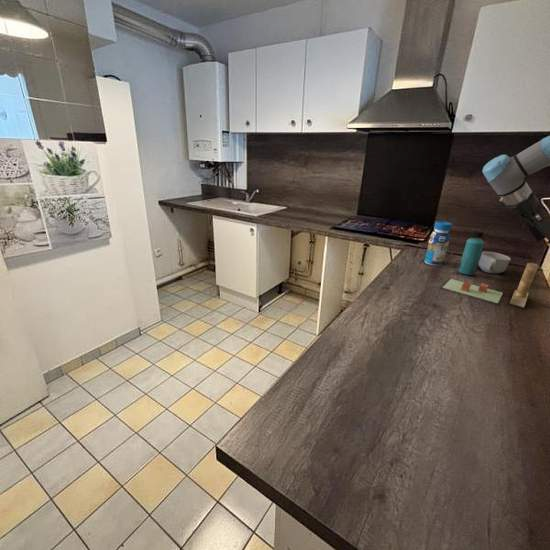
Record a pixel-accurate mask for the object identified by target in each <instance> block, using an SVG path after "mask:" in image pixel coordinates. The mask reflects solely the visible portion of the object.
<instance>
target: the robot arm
mask: <svg viewBox="0 0 550 550" xmlns="http://www.w3.org/2000/svg"><path fill="white" fill-rule="evenodd" d="M546 167H550V135H548V136H546V137H543V138H541V139H540V140H539V141H537V142H536V143H534V144H532V145H530V146H529V147H527V148H525V149H523V150H522V151H521V152H518V153H517V154H514V155H513V156H511V157H510V156H508V155H507V154H500V155H498V156H496V157H494V158H492V159H491V160H489V161H488V162H487V163H486V164H485V165H484V166H483V167H482V174H483V176H484V177H485V178H486V181H487V182H488V184H489V185H490V186H491V187H492V189H493V191H494V192H495V193H496V194H497V196H498V197H499V198H500V199H499V200H498V201H499V202H501V203H503V204H504V205H505V207H506V208H507V210H508V211H509V213H510V214H511V215H513V216H518V218H519V220H520V222H521V224H522V225H524V226H525V228H527V230H528V231H529V233H530V234H531V235H532V237H533V239H534V240H535V241H536V242H537V243H539V242H541V241H543V240H544V239H547V240H548V241H546V244H547V245H550V221H548V220H547V218H546V217H545V216H544V214H543V213H542V212H540V211H539V209H538V208H537V209H535V207H537V206H538V204H539V199H538V197H537V196H536V195H535V193H534V192H533V190H532V188H531V187H530V185H529V184H528V182H527V181H526V179H525V178H527V177H529V176H530V175H532V174H535V173H536V172H538V171H540V170H542V169H545V168H546Z"/></svg>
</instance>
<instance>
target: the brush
mask: <svg viewBox="0 0 550 550" xmlns="http://www.w3.org/2000/svg"><path fill="white" fill-rule="evenodd" d="M539 266H540V265H539V264H537V263H533V262H527V263H526V265H525V268H524V271H523V272H522V276H521V278H520V281H519V283H518V286H517V289H514V292H513V294H512V297H511V299H510V302H509V304H510V305H514V306H518V307H520V308H525V306H526V303H527V301H528V297H529V294H530V293H529V290H530V288H531V285H532V283H533V281H534V278H535V275H536V273H537V270H538V268H539Z"/></svg>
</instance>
